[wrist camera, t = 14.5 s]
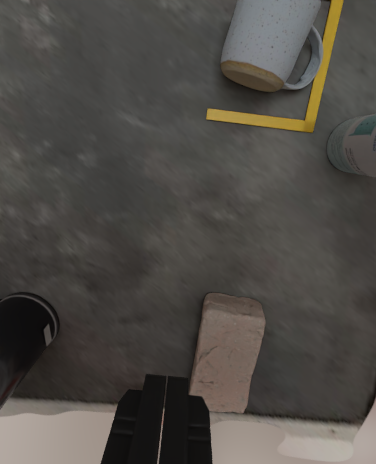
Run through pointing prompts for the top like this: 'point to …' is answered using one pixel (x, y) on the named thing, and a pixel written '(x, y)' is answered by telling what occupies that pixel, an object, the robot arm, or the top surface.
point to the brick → (227, 351)
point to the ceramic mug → (271, 43)
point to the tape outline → (315, 93)
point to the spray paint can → (354, 146)
